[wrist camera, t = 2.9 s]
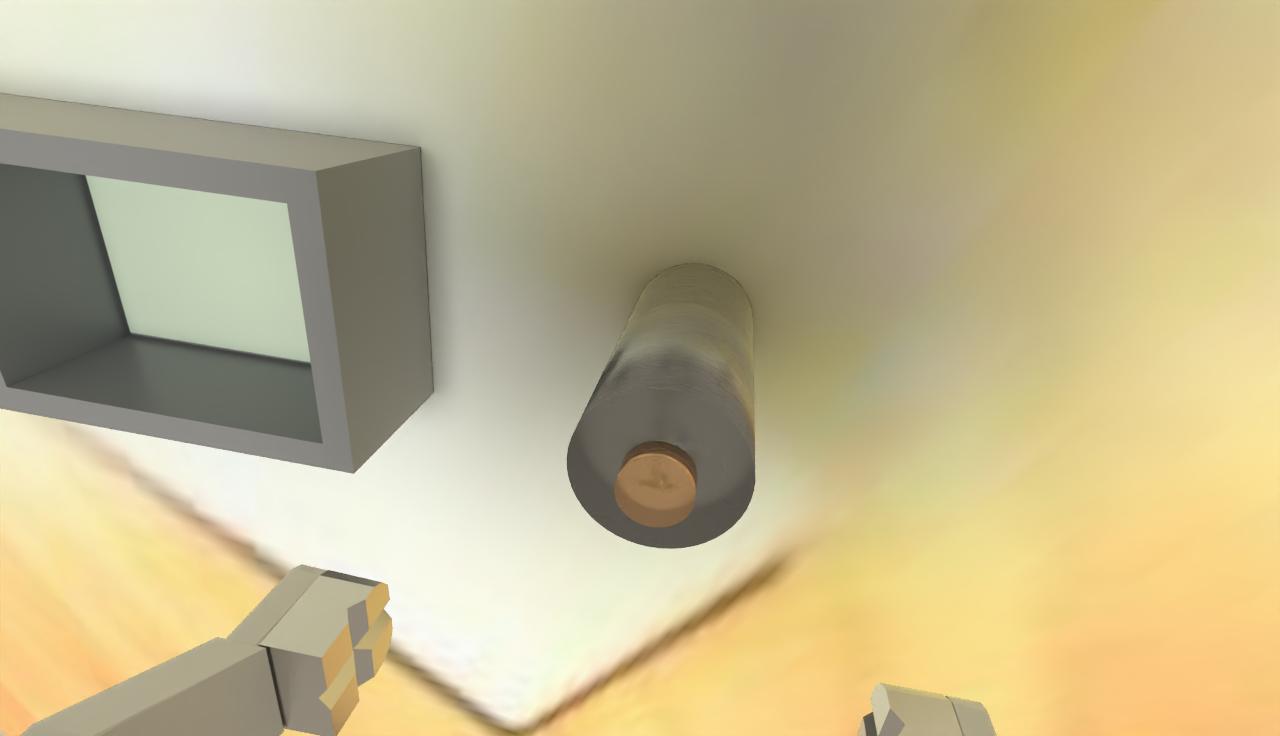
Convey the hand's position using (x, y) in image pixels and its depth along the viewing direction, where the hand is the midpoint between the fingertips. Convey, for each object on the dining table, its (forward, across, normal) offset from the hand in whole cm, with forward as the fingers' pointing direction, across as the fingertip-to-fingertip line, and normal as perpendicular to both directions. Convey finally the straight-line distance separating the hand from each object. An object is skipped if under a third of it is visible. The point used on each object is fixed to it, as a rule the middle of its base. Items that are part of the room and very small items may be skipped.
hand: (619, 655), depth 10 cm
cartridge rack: (+15, +24, 0) cm, 28 cm away
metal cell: (+15, 0, 0) cm, 15 cm away
